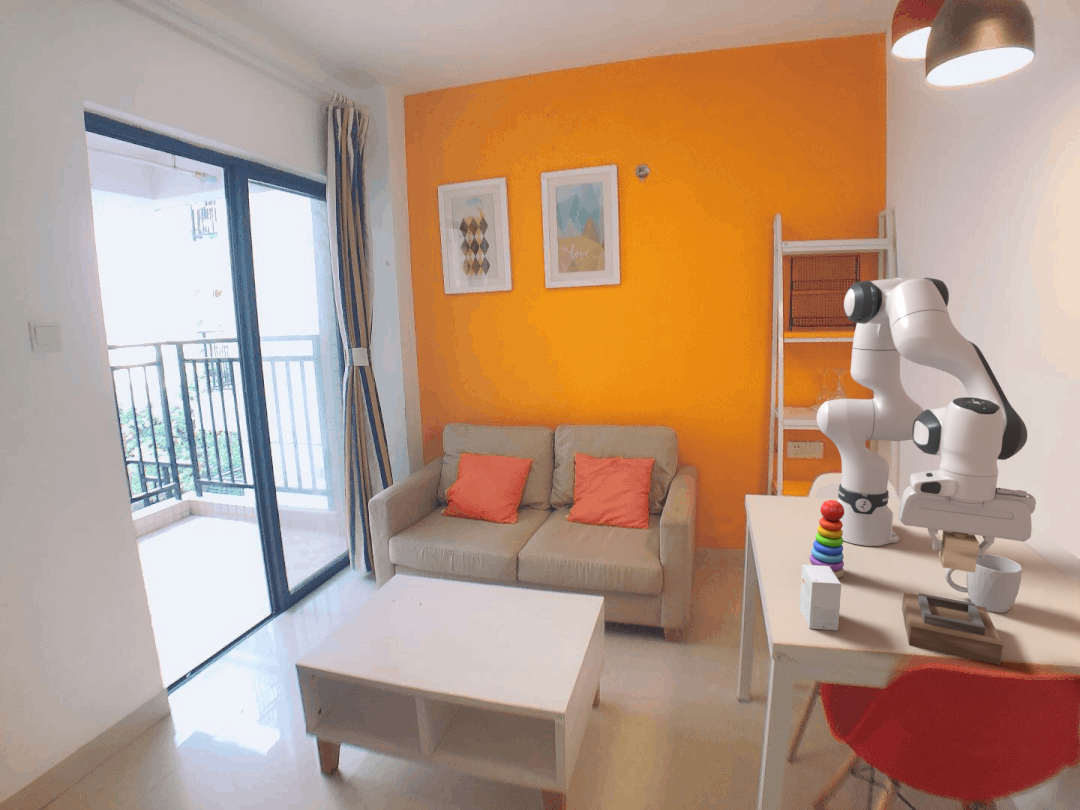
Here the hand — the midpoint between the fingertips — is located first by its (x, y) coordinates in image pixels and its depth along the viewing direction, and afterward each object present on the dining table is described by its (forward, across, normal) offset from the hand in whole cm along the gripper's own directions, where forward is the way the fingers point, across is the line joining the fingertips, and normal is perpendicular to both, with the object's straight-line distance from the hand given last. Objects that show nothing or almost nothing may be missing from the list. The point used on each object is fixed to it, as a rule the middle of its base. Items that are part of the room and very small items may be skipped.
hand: (957, 552), depth 108 cm
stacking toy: (+18, +22, -18) cm, 34 cm away
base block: (+18, 0, 0) cm, 18 cm away
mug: (+18, -8, -17) cm, 26 cm away
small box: (+18, +23, +5) cm, 30 cm away
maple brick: (+2, 0, 0) cm, 2 cm away
